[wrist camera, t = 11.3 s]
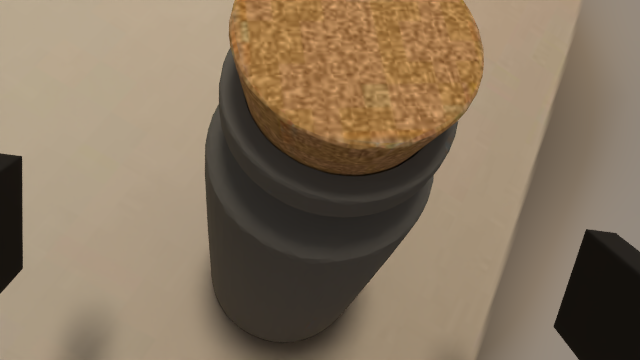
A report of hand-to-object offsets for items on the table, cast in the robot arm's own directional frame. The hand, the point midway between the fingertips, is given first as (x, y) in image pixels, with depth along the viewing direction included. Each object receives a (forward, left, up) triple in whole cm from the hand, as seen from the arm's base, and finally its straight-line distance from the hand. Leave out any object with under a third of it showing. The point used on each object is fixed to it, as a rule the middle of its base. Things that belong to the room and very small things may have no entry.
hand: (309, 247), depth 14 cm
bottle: (+1, -2, -10) cm, 11 cm away
